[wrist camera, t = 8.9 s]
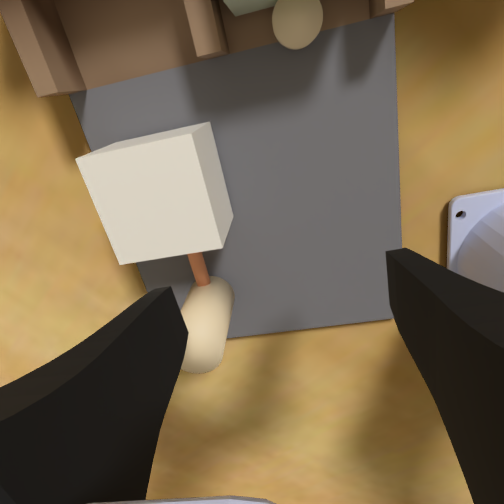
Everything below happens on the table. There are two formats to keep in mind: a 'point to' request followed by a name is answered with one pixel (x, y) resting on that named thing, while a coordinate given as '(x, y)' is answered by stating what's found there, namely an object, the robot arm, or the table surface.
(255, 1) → the sage block
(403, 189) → the table surface
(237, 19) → the lane shelf
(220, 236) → the white block
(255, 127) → the mat
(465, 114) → the table surface
